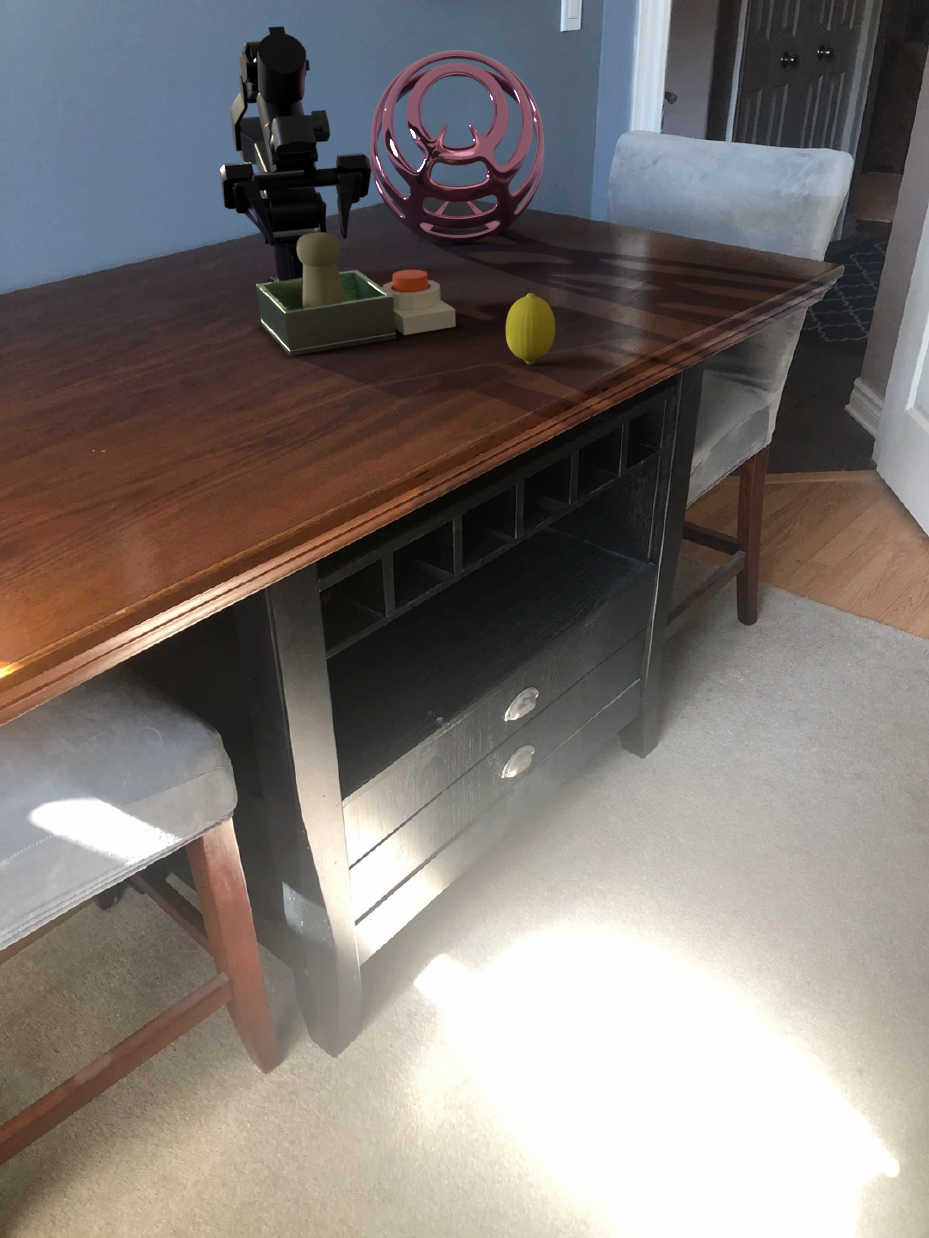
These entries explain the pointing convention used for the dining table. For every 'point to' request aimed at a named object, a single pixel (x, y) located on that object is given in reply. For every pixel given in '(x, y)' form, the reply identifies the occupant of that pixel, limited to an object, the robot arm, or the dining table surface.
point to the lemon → (530, 328)
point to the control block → (420, 310)
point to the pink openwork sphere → (457, 150)
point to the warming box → (326, 315)
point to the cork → (320, 269)
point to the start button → (410, 281)
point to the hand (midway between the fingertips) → (309, 240)
